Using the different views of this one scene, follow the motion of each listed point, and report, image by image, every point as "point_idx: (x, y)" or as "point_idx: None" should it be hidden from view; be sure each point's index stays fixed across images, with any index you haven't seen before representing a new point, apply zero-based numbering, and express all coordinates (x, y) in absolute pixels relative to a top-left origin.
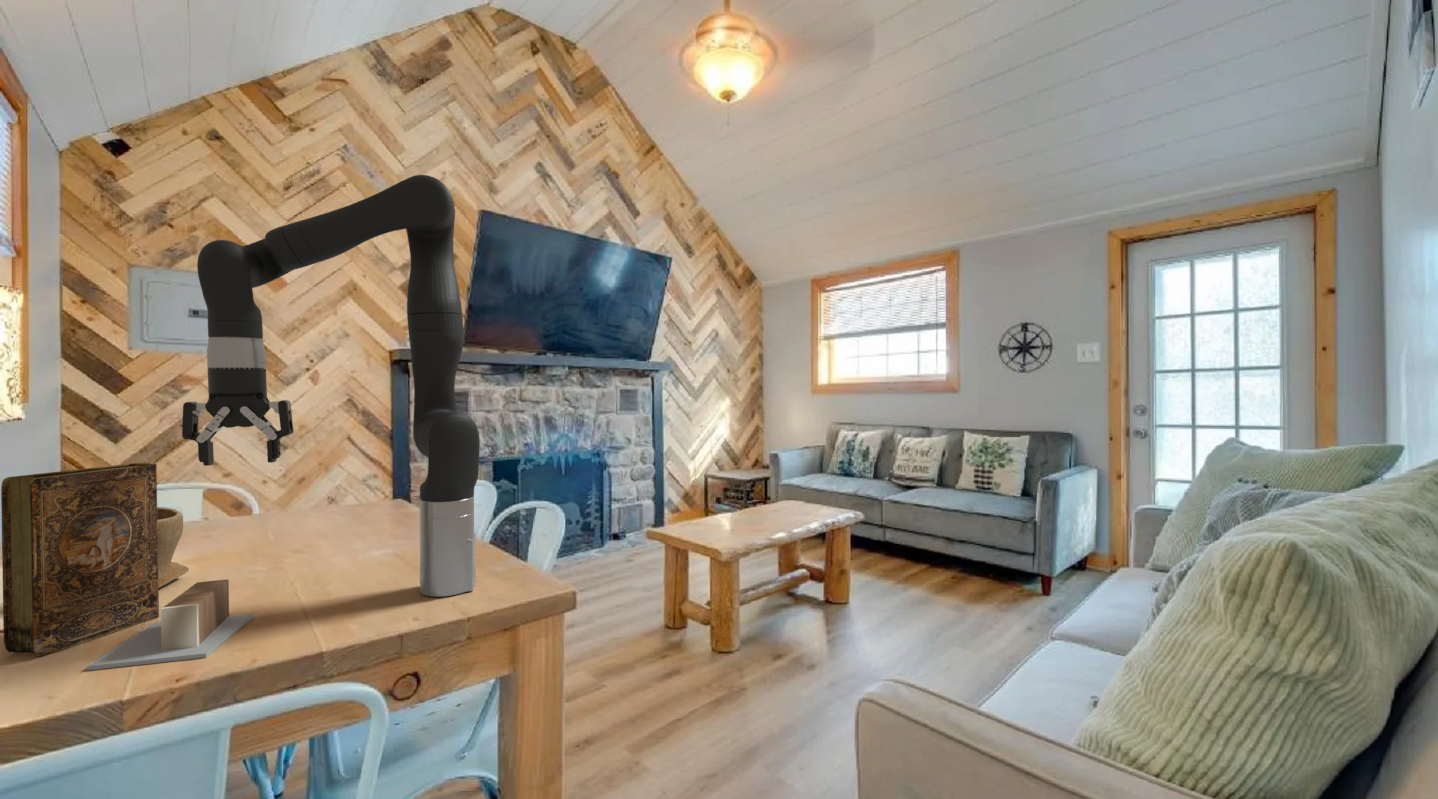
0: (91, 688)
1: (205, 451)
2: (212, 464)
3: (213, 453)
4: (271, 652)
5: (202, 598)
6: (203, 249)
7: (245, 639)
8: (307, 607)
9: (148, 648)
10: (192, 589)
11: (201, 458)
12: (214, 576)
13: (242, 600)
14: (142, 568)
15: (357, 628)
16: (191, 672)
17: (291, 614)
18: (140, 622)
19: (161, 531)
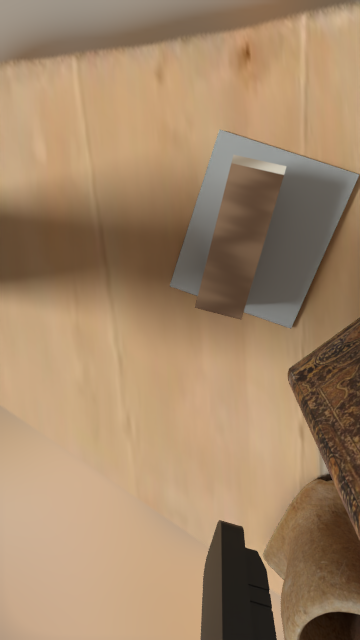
0: (346, 91)
1: (235, 595)
2: (208, 551)
3: (201, 628)
4: (140, 97)
5: (227, 196)
6: None
7: (175, 184)
8: (103, 285)
9: (291, 205)
10: (245, 273)
11: (253, 571)
12: None
13: (188, 380)
14: (331, 395)
15: (35, 134)
16: (233, 76)
17: (122, 265)
18: (308, 355)
19: (316, 576)
